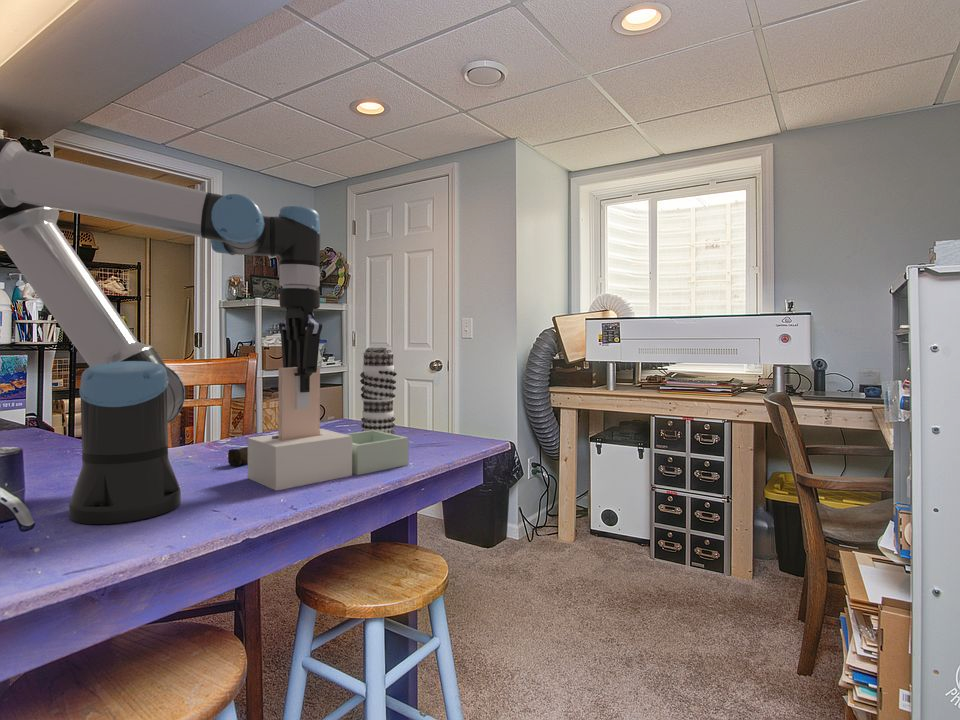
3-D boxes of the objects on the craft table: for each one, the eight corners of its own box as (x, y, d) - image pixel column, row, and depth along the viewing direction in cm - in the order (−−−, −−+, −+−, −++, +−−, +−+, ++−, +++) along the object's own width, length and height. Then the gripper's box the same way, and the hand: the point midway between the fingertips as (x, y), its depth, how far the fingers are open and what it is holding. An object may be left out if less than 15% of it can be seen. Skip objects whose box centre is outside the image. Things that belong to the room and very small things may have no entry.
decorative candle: (397, 441, 149) (398, 347, 148) (394, 448, 140) (395, 348, 139) (362, 441, 149) (363, 346, 147) (357, 448, 139) (357, 347, 138)
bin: (357, 475, 114) (357, 445, 113) (324, 464, 123) (324, 436, 122) (408, 464, 123) (408, 437, 123) (373, 455, 132) (373, 429, 132)
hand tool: (238, 468, 119) (238, 447, 118) (226, 466, 121) (226, 444, 120) (308, 453, 135) (308, 434, 135) (296, 451, 137) (297, 432, 137)
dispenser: (276, 490, 102) (275, 444, 101) (247, 478, 110) (247, 435, 110) (352, 475, 113) (352, 433, 113) (321, 465, 122) (321, 426, 121)
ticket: (282, 451, 108) (282, 368, 107) (278, 450, 109) (278, 367, 108) (319, 445, 114) (319, 367, 113) (315, 444, 115) (316, 366, 114)
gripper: (336, 288, 108) (336, 410, 109) (299, 291, 118) (299, 403, 119) (300, 285, 102) (300, 414, 103) (264, 288, 112) (264, 406, 113)
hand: (299, 408), depth 111 cm, fingers closed on ticket, 1 cm apart
